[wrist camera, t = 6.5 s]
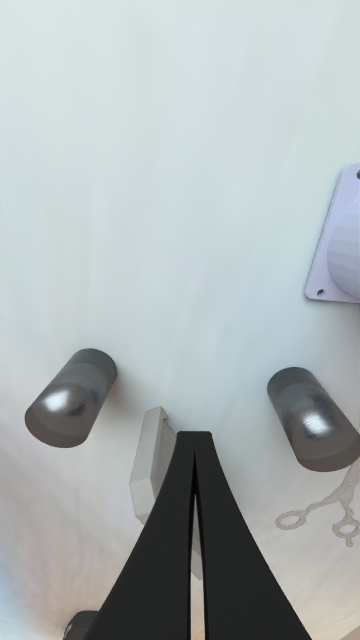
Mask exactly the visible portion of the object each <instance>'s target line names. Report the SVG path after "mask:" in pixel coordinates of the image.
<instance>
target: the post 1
mask: <svg viewBox="0 0 360 640" xmlns="http://www.w3.org/2000/svg"><path fill="white" fill-rule="evenodd" d="M116 374H117V368H116V365H115V363H114V361H113V360H112V358H111V357H110V356H109V355H107V354H106V353H104V352H102V351H100V350H97V349H82V350H80V351H78V352H77V353H75V354H74V355H73V357H72V358H71V359H70V360H69V361H68V362H67V364H66V365H65V366H64V367H63V368H62V369H61V371H60V372H59V373H58V374H57V375H56V376H55V378H54V379H53V380H52V381H51V382H50V384H49V385H48V386H47V387H46V388H45V389H44V391H43V392H42V393H41V394H40V395H39V396H38V398H37V399H36V400H35V401H34V402H33V403H32V405H31V406H30V407H29V408H28V410H27V411H26V413H25V424H26V426H27V428H28V430H29V431H30V432H31V434H32V435H33V436H34V437H36V438H37V439H38V440H40V441H41V442H43V443H45V444H48V445H50V446H54V447H59V448H71V447H75V446H78V445H80V444H82V443H83V442H84V441H85V440H86V439H87V437H88V435H89V433H90V431H91V429H92V426H93V424H94V422H95V420H96V418H97V416H98V414H99V412H100V409H101V407H102V405H103V403H104V401H105V399H106V397H107V394H108V392H109V390H110V388H111V386H112V384H113V382H114V380H115V377H116Z"/></svg>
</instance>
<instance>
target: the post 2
mask: <svg viewBox="0 0 360 640" xmlns="http://www.w3.org/2000/svg"><path fill="white" fill-rule="evenodd" d="M267 392H268V395H269V397H270V399H271V401H272V404H273V406H274V408H275V410H276V413H277V415H278V417H279V419H280V422H281V424H282V426H283V428H284V431H285V433H286V435H287V438H288V440H289V442H290V444H291V447H292V449H293V451H294V453H295V456H296V458H297V460H298V462H299V463H300V464H301V465H302V466H303V467H305V468H307V469H309V470H312V471H317V472H330V471H336V470H340V469H342V468H345V467H347V466H349V465H351V464H352V463H354V462H355V461H356V460H357V459H358V458H359V457H360V434H359V433H358V432H357V431H356V429H355V428H354V427H353V425H352V424H351V423H350V422H349V420H348V419H347V418H346V416H345V415H344V414H343V413H342V411H341V410H340V409H339V408H338V406H337V405H336V404H335V402H334V401H333V400H332V399H331V397H330V396H329V395H328V394H327V392H326V391H325V390H324V388H323V387H322V386H321V385H320V383H319V382H318V381H317V379H316V378H315V377H314V376H313V374H312V373H311V372H309V371H308V370H306V369H304V368H299V367H290V368H286V369H283V370H281V371H279V372H277V373H276V374H275V375H274V376H273V377H272V378H271V379H270V381H269V383H268V386H267Z"/></svg>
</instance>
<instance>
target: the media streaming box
mask: <svg viewBox="0 0 360 640" xmlns="http://www.w3.org/2000/svg"><path fill="white" fill-rule="evenodd" d="M97 614H98V611H82V612H79V613H77V614H76V615H75V616H74V617H73V619H72V620H71V621H70V623H69V624H68V626H67V627H66V630H65V633H64V638H63V640H82V639H83V638H84V636H85V634H86V633H87V631H88V629H89V627H90V626H91V624H92V622H93V621H94V619H95V617H96V616H97Z"/></svg>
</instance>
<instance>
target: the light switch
mask: <svg viewBox="0 0 360 640" xmlns="http://www.w3.org/2000/svg"><path fill="white" fill-rule="evenodd" d="M167 418H168V415H167V414H166V412H165V411H164V409H163V408H162V407H161V406H160V407H157V408H154V409H152V410H149V411H147V412H146V413H145V417H144V421H143V426H142V430H141V435H140V439H139V443H138V448H137V452H136V456H135V461H134V465H133V469H132V474H131V478H130V482H129V486H130V491H131V496H132V502H133V507H134V513H135V516H136V517H137V518H138V519H139V520H140V521H141V522H142V523H143V524H144V525H145V524H146V521H147V519H148V517H149V515H150V513H151V510H152V508H153V506H154V503H155V501H156V498H157V496H158V494H159V491H160V489H161V486H162V484H163V481H164V478H165V475H166V472H167V470H168V467H169V464H170V461H171V457H172V454H173V451H174V447H175V443H176V438H177V436H176V434H175V433H174V431H173V430H172V429H171V427H170V426H169V425H168V423H167V422H166V421H165V419H167ZM191 572H192V573H193V574H194V575H195V576H196V577H197V578H198V579H199V580H201V579H203V572H202V559H201V548H200V538H199V527H198V516H197V505H196V495H195V507H194V524H193V541H192V558H191Z"/></svg>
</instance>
